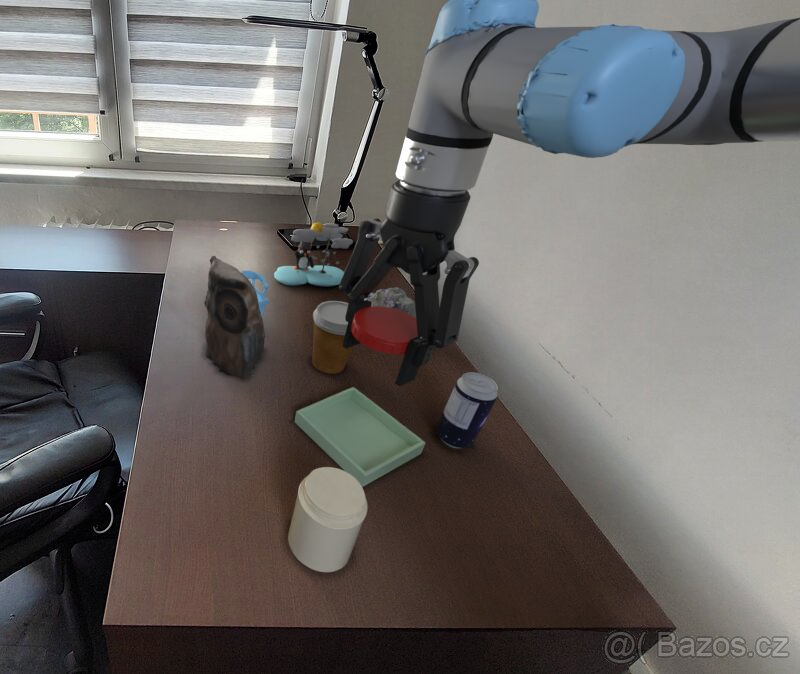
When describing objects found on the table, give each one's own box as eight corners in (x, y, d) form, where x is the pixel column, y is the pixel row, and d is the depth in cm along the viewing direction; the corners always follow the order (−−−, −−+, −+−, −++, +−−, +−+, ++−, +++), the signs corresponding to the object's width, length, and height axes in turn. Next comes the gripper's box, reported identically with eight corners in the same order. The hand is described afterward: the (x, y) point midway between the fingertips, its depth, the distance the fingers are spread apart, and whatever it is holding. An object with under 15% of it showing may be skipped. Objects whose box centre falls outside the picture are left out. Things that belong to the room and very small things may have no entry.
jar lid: (360, 311, 62) (363, 299, 61) (425, 330, 58) (430, 318, 57) (342, 340, 56) (345, 328, 55) (413, 363, 52) (418, 350, 51)
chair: (239, 336, 98) (243, 287, 91) (222, 318, 104) (225, 270, 97) (270, 329, 101) (276, 281, 94) (251, 311, 107) (256, 264, 100)
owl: (247, 385, 85) (258, 289, 73) (185, 367, 89) (187, 274, 77) (266, 349, 94) (278, 260, 83) (210, 334, 98) (214, 247, 87)
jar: (364, 553, 58) (385, 501, 52) (317, 584, 54) (334, 532, 49) (320, 505, 64) (335, 454, 58) (275, 531, 60) (286, 479, 54)
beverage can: (473, 456, 72) (504, 399, 65) (434, 445, 74) (460, 388, 67) (469, 431, 76) (498, 375, 70) (433, 422, 78) (457, 367, 71)
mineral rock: (353, 309, 109) (362, 271, 104) (398, 310, 109) (410, 272, 104) (368, 339, 99) (380, 299, 93) (418, 341, 99) (433, 300, 93)
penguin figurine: (276, 288, 117) (284, 232, 108) (270, 270, 126) (277, 216, 117) (353, 290, 117) (367, 234, 109) (342, 271, 126) (354, 218, 118)
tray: (421, 453, 72) (426, 442, 71) (361, 487, 66) (365, 476, 65) (350, 397, 83) (353, 386, 81) (294, 421, 77) (296, 411, 76)
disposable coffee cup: (362, 368, 90) (377, 316, 83) (329, 385, 85) (342, 331, 79) (326, 345, 96) (337, 295, 90) (293, 359, 92) (303, 307, 85)
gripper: (331, 164, 52) (300, 330, 65) (513, 224, 38) (427, 422, 50) (377, 158, 55) (339, 317, 68) (560, 211, 41) (468, 400, 54)
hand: (376, 361), depth 59 cm, fingers closed on jar lid, 8 cm apart
